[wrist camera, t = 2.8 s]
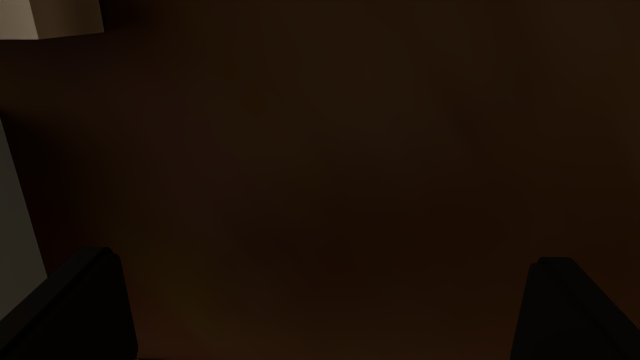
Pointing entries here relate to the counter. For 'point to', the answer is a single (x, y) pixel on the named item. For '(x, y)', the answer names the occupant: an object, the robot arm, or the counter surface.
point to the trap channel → (49, 18)
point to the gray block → (15, 238)
